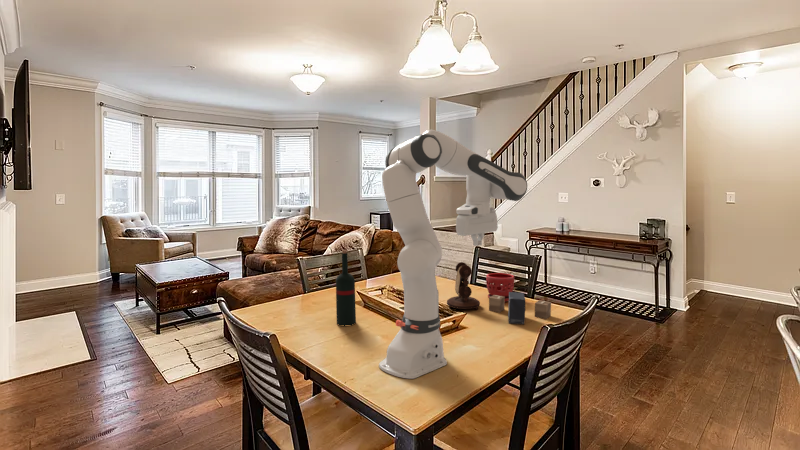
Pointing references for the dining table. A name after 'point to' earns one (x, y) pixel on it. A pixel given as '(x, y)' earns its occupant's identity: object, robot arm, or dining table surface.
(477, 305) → the dark brown knobbly figurine
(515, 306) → the small box
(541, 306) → the walnut block one
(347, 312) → the wine bottle
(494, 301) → the walnut block seven
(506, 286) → the plant pot
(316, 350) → the dining table surface
